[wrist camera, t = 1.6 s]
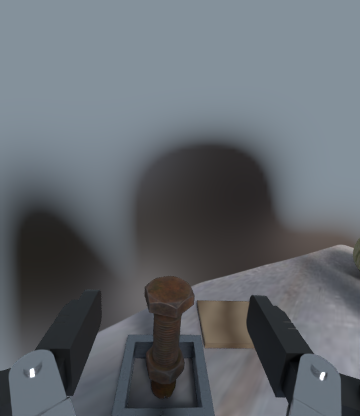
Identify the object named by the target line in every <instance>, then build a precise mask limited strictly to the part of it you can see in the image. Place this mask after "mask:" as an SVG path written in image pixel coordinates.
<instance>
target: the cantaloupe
mask: <svg viewBox="0 0 360 416" xmlns="http://www.w3.org/2000/svg"><path fill="white" fill-rule="evenodd" d="M353 259H354V262H355V264H356V266H357V267H358V269H359V271H360V238H359V239H358V241H357V243H356V244H355V246H354V250H353Z"/></svg>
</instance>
